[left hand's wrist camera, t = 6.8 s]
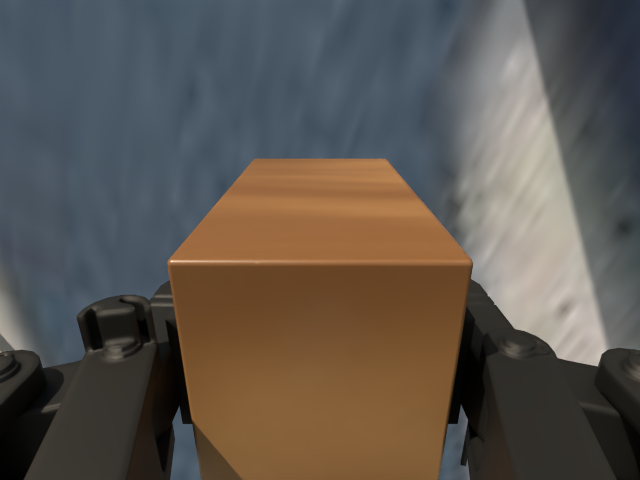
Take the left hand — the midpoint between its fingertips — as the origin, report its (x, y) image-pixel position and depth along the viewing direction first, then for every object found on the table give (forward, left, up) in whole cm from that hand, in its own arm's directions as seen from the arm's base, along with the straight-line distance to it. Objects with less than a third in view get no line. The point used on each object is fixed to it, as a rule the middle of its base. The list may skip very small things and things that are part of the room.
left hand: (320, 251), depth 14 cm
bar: (+11, +3, -1) cm, 11 cm away
